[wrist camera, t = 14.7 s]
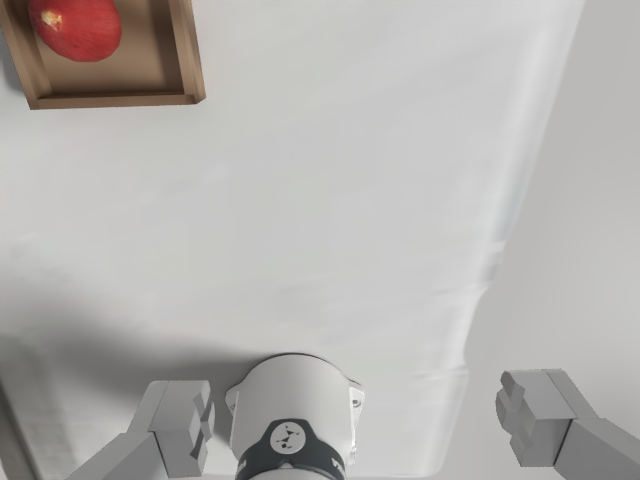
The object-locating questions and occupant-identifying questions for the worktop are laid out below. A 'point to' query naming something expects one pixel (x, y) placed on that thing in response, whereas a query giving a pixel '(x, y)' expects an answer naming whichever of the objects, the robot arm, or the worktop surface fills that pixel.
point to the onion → (77, 27)
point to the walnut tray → (112, 60)
